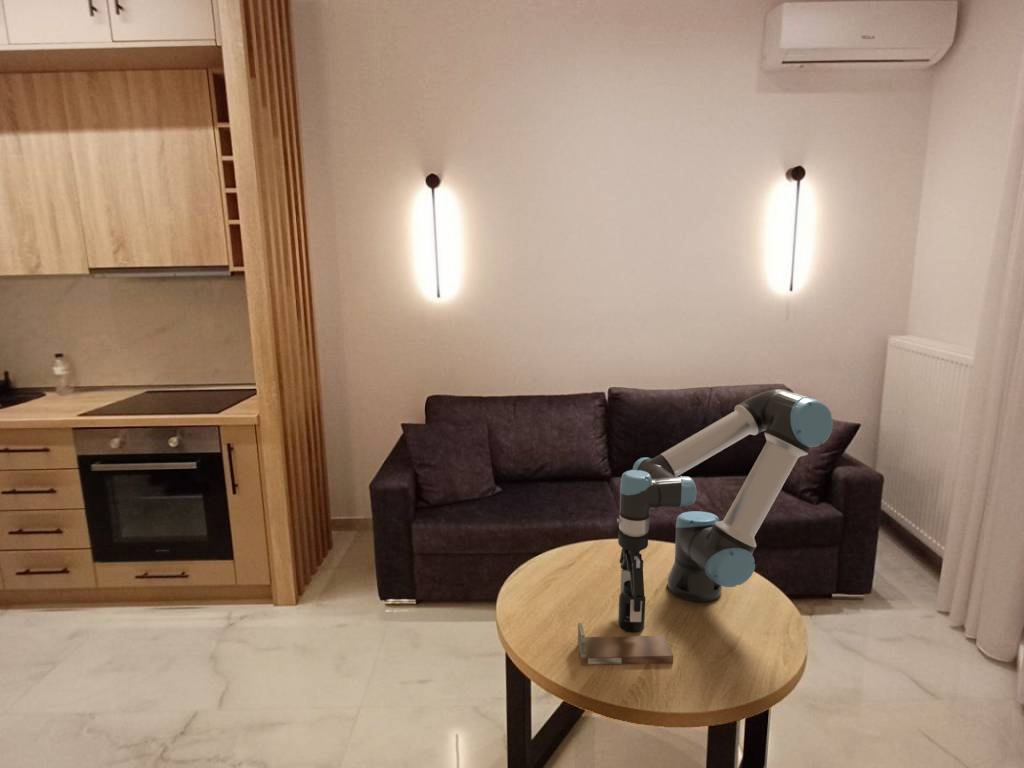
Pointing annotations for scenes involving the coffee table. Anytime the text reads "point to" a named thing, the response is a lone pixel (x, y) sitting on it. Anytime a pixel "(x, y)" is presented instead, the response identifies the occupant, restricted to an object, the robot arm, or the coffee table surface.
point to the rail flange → (623, 649)
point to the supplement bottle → (625, 611)
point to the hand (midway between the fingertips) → (630, 606)
